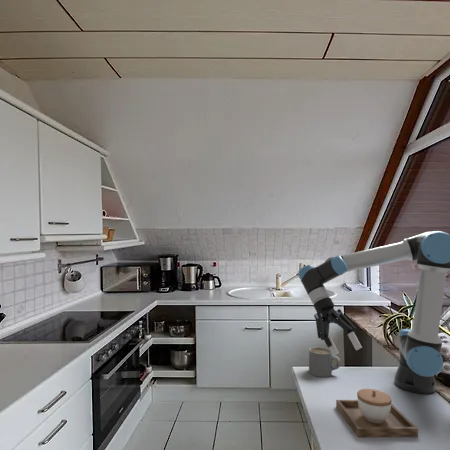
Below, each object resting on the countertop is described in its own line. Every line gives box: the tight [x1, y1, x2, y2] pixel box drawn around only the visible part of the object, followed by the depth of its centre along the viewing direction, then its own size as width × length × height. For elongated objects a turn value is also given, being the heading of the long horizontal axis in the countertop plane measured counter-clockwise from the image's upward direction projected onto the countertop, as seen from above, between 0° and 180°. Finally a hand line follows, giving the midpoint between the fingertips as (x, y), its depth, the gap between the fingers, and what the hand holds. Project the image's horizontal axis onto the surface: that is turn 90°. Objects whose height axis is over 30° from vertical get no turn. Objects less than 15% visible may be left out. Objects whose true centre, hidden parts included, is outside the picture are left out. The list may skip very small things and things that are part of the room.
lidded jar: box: [356, 388, 393, 423], centre depth 120 cm, size 11×11×9 cm
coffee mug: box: [308, 346, 341, 378], centre depth 160 cm, size 13×10×10 cm
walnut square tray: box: [335, 399, 419, 438], centre depth 120 cm, size 19×19×2 cm
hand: (347, 351), depth 133 cm, fingers open, 13 cm apart
